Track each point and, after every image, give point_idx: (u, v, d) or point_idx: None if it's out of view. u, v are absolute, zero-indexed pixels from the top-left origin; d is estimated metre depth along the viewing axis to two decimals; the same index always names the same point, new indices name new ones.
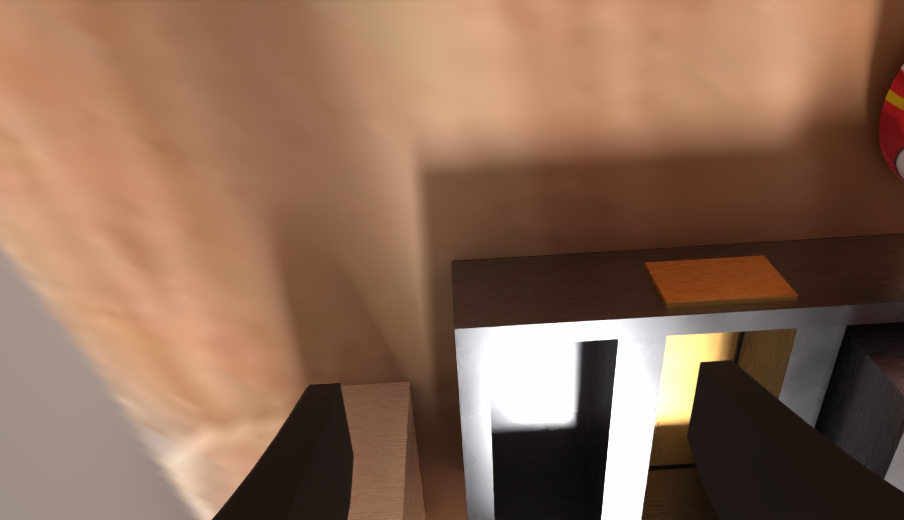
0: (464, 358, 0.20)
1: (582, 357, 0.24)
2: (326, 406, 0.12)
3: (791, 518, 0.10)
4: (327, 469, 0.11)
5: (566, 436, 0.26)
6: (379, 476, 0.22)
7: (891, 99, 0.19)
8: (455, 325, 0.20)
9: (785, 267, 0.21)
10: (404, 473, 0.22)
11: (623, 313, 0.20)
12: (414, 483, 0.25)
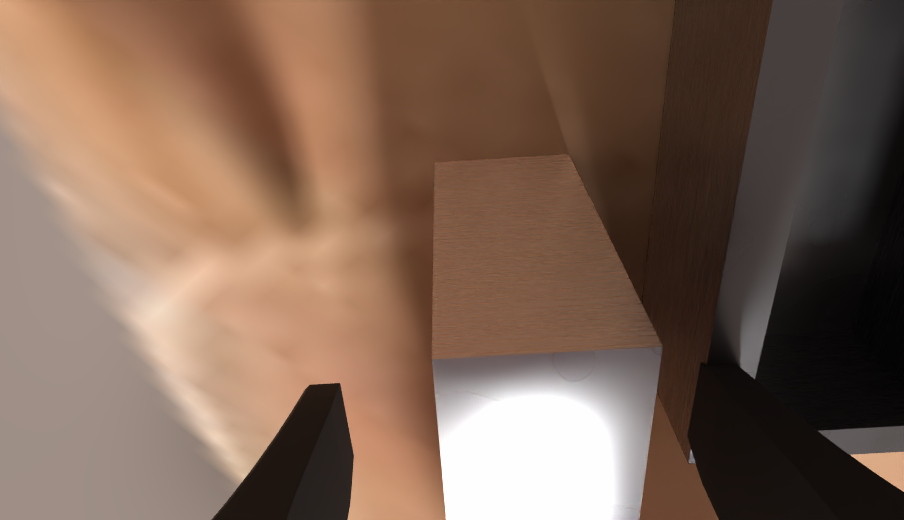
0: None
1: None
2: (326, 406, 0.12)
3: (791, 518, 0.10)
4: (327, 469, 0.11)
5: (840, 260, 0.15)
6: (566, 262, 0.10)
7: None
8: None
9: None
10: None
11: None
12: None
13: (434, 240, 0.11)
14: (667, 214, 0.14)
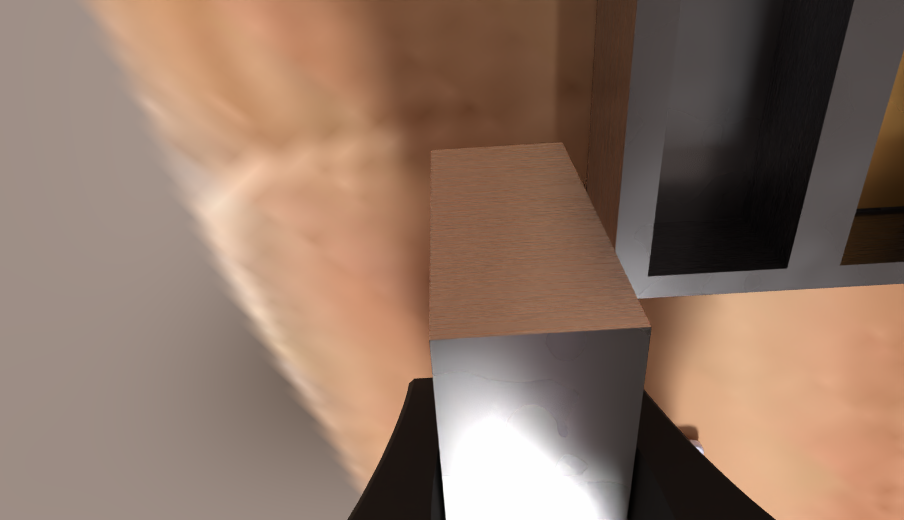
0: None
1: (769, 22, 0.18)
2: None
3: None
4: None
5: (728, 159, 0.20)
6: (558, 247, 0.11)
7: None
8: None
9: None
10: (608, 243, 0.11)
11: None
12: None
13: (431, 227, 0.11)
14: (597, 122, 0.19)
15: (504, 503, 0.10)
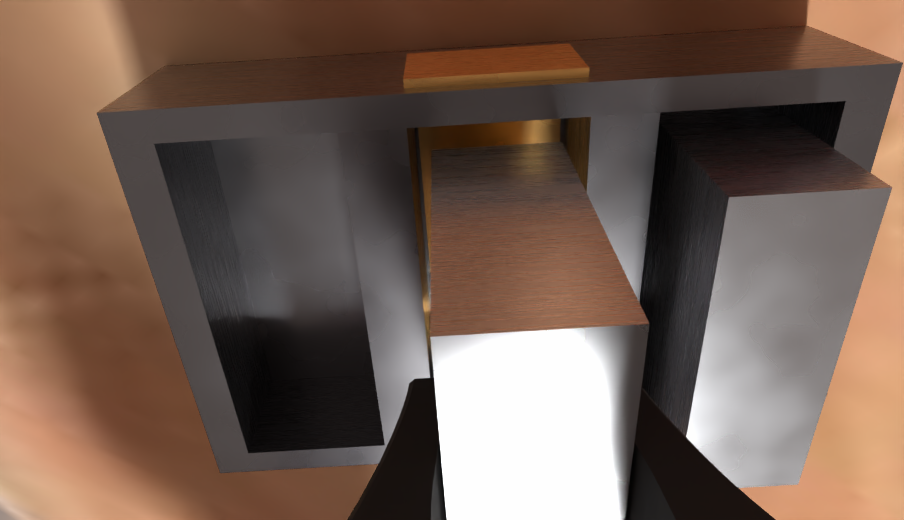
0: (124, 163, 0.14)
1: None
2: None
3: None
4: None
5: (360, 324, 0.20)
6: (558, 245, 0.11)
7: None
8: (102, 110, 0.14)
9: (594, 55, 0.16)
10: (607, 242, 0.11)
11: (341, 94, 0.14)
12: None
13: (432, 225, 0.12)
14: None
15: (504, 498, 0.11)
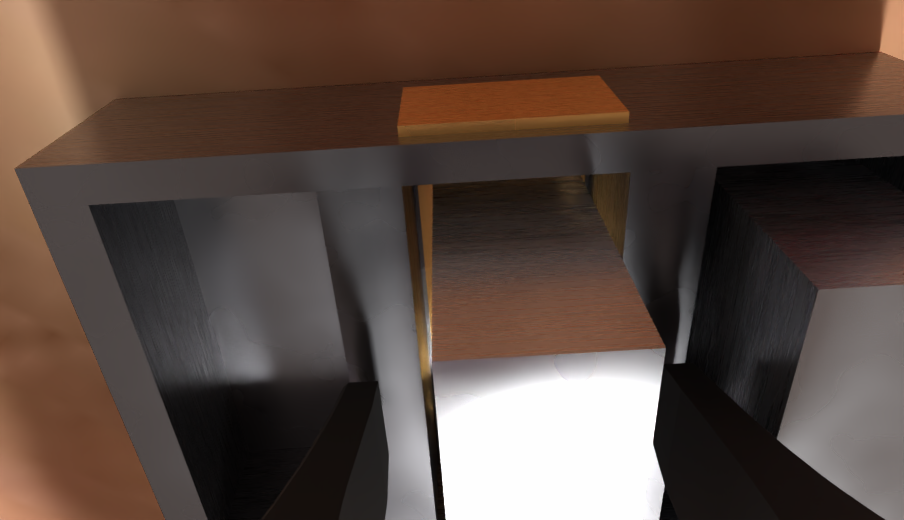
0: (53, 228, 0.12)
1: None
2: (367, 404, 0.12)
3: None
4: (369, 467, 0.11)
5: None
6: (566, 261, 0.10)
7: None
8: (22, 164, 0.11)
9: (630, 90, 0.13)
10: (618, 257, 0.10)
11: (321, 144, 0.11)
12: None
13: (433, 239, 0.11)
14: None
15: None
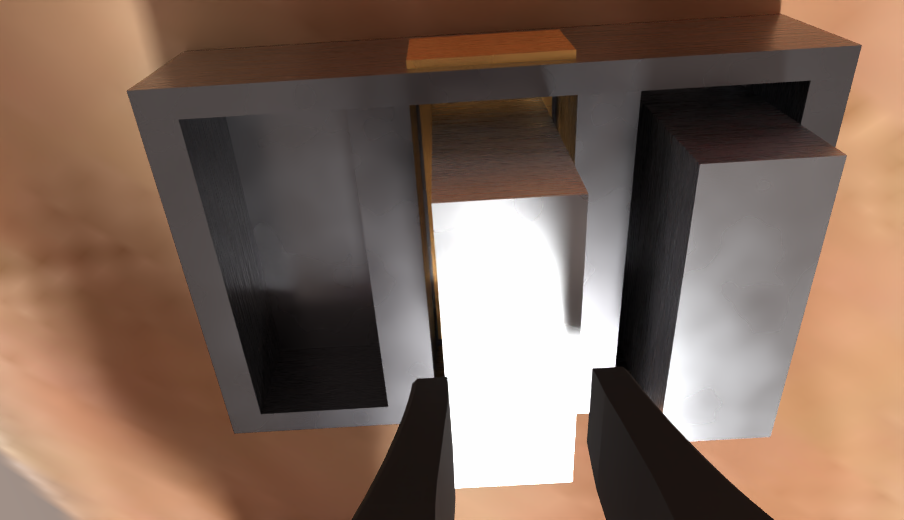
0: (151, 138, 0.16)
1: None
2: (442, 399, 0.12)
3: None
4: (447, 462, 0.11)
5: (365, 295, 0.22)
6: (528, 153, 0.14)
7: None
8: (131, 88, 0.15)
9: (582, 40, 0.17)
10: (565, 151, 0.14)
11: (350, 73, 0.15)
12: None
13: (432, 143, 0.15)
14: None
15: (487, 343, 0.14)
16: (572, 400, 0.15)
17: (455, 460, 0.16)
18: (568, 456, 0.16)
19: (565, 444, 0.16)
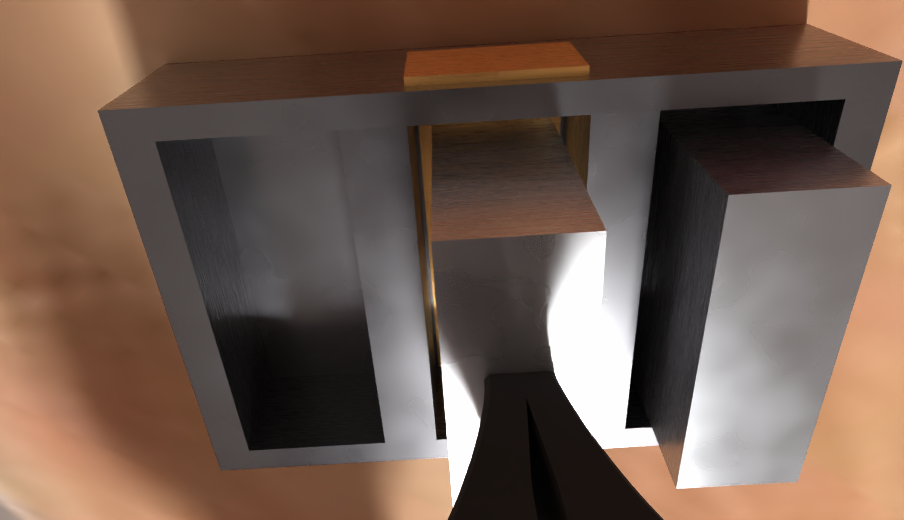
0: (125, 161, 0.14)
1: None
2: (520, 395, 0.12)
3: None
4: None
5: (360, 321, 0.21)
6: (537, 180, 0.13)
7: None
8: (103, 108, 0.14)
9: (595, 53, 0.16)
10: (578, 178, 0.13)
11: (342, 92, 0.14)
12: None
13: (432, 167, 0.14)
14: None
15: None
16: None
17: None
18: None
19: None
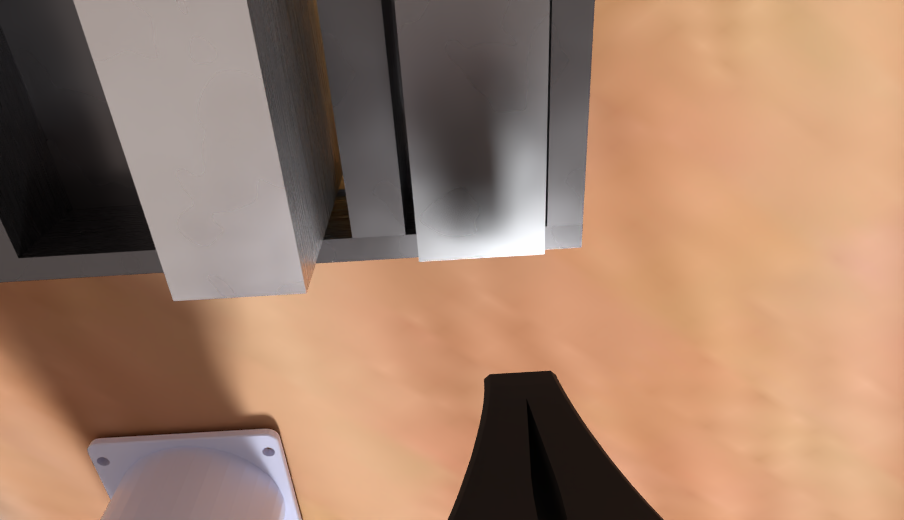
0: None
1: None
2: (520, 395, 0.12)
3: None
4: None
5: None
6: None
7: None
8: None
9: None
10: None
11: None
12: (303, 24, 0.16)
13: None
14: None
15: (158, 97, 0.12)
16: (278, 181, 0.13)
17: (165, 262, 0.14)
18: (293, 258, 0.14)
19: (286, 241, 0.14)
